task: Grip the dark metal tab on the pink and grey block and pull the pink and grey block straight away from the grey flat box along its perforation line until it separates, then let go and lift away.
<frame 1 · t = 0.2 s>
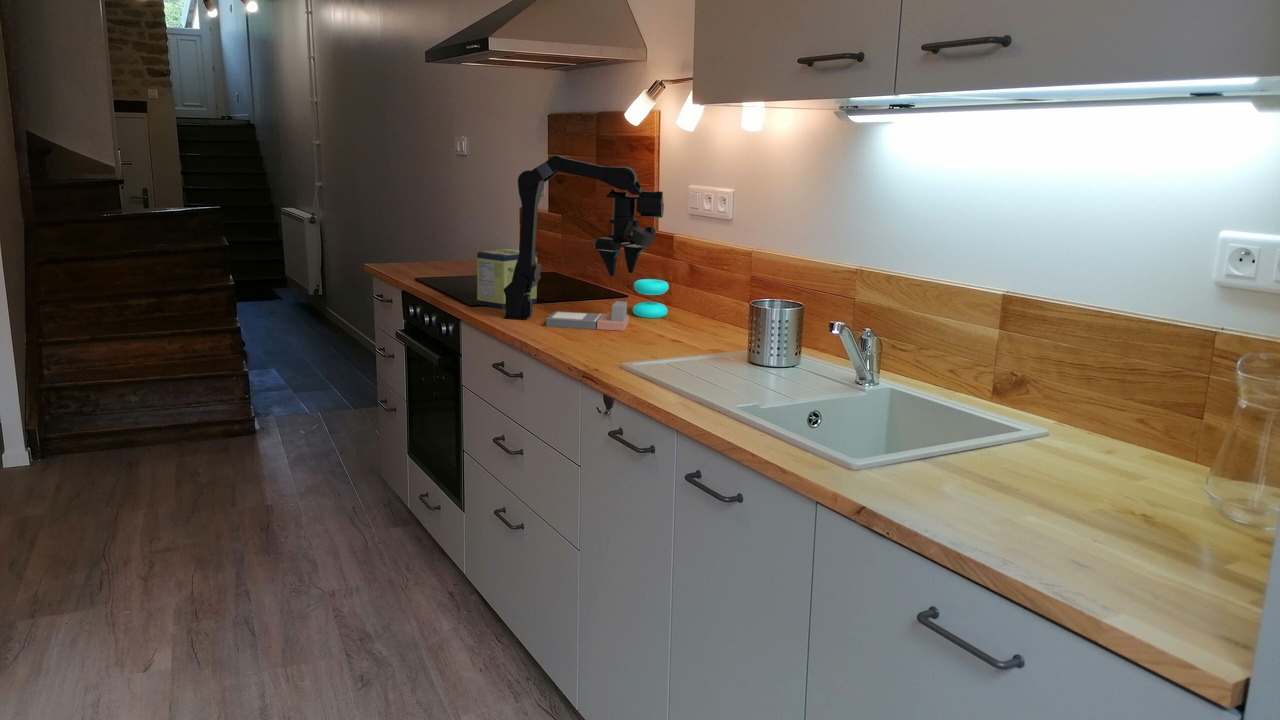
hand: (621, 274, 249), 14 cm above the counter, tool pointing down, fingers open, 9 cm apart
grey flat box: (574, 323, 251), on the counter
donuts: (649, 316, 267), on the counter
protein box: (507, 304, 276), on the counter
pink and grey block: (613, 314, 249), point 3 cm above the counter, slide at 0.0 cm
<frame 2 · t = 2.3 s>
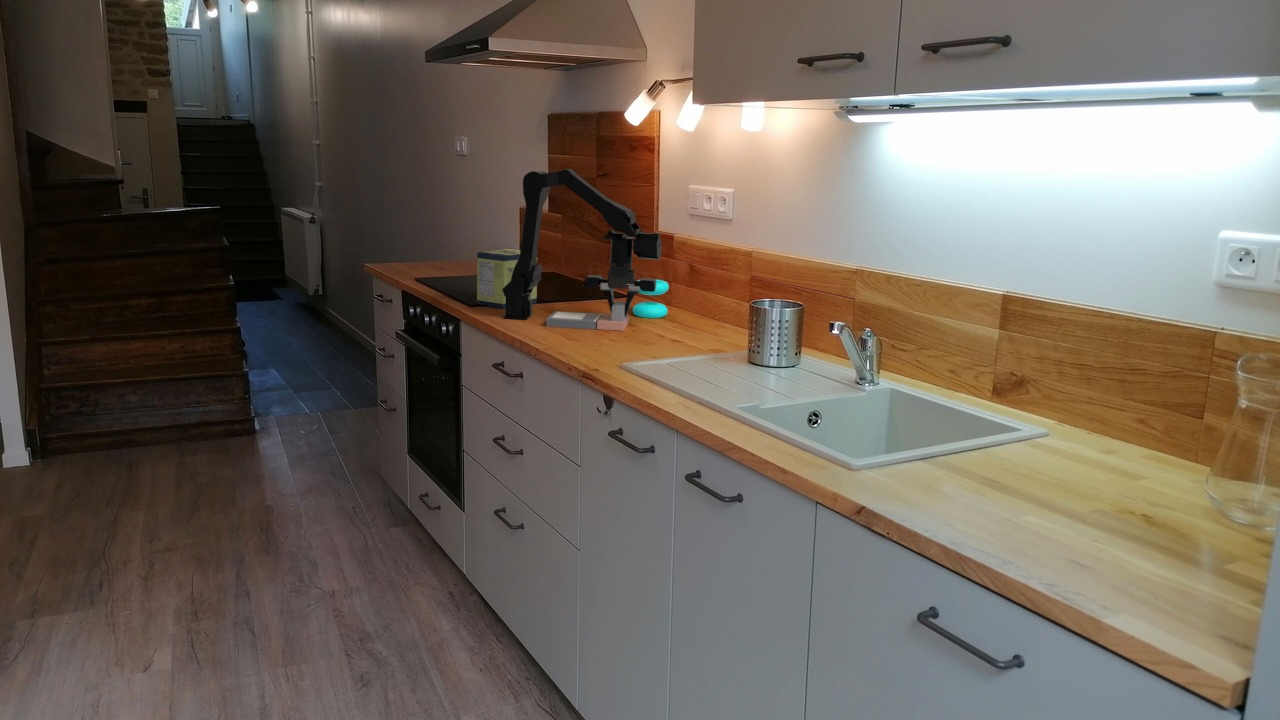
hand: (619, 315, 249), 3 cm above the counter, tool pointing down, fingers closed on pink and grey block, 3 cm apart
pink and grey block: (613, 314, 249), point 3 cm above the counter, slide at 0.0 cm, touching gripper
everything else where it was.
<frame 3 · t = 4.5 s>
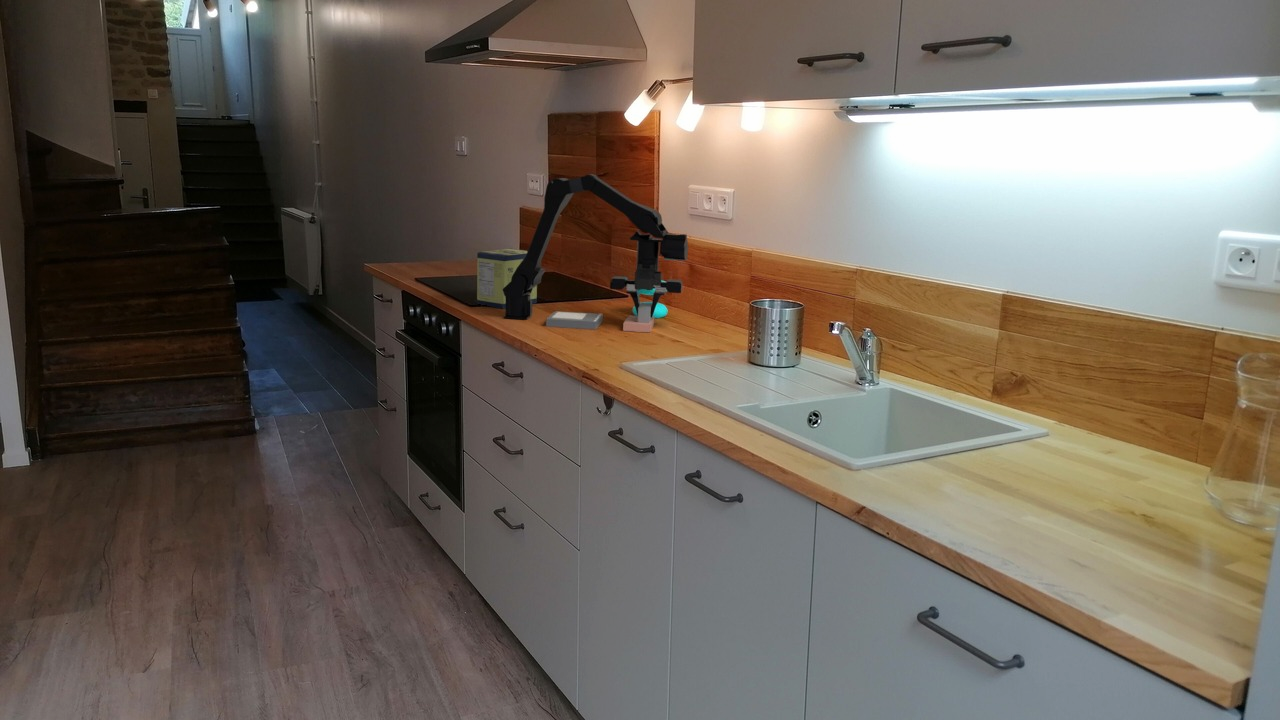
hand: (645, 316, 248), 3 cm above the counter, tool pointing down, fingers closed on pink and grey block, 3 cm apart
pink and grey block: (639, 316, 248), point 3 cm above the counter, slide at 6.9 cm, touching gripper
everything else where it was.
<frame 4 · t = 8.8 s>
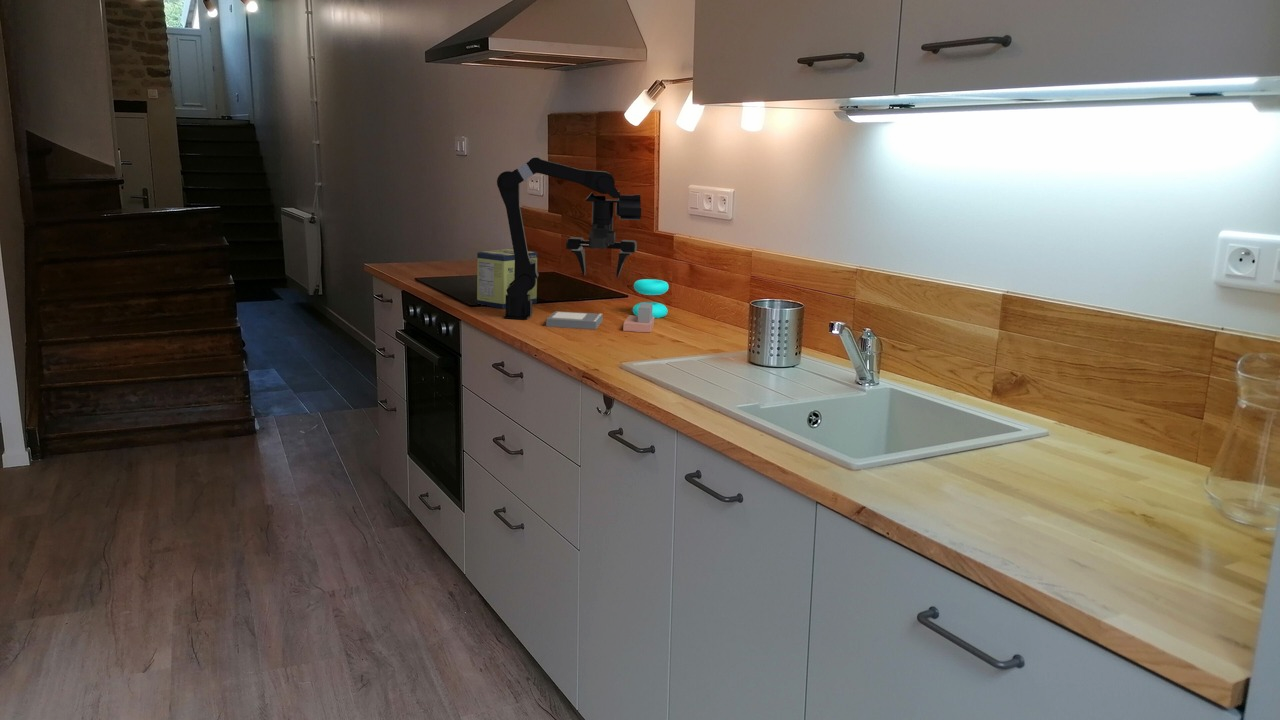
hand: (600, 276, 255), 12 cm above the counter, tool pointing down, fingers open, 9 cm apart
pink and grey block: (639, 316, 248), point 3 cm above the counter, slide at 7.0 cm
everything else where it was.
at the end: pink and grey block slide at 7.0 cm; pink and grey block touching nothing; the gripper is holding nothing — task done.
